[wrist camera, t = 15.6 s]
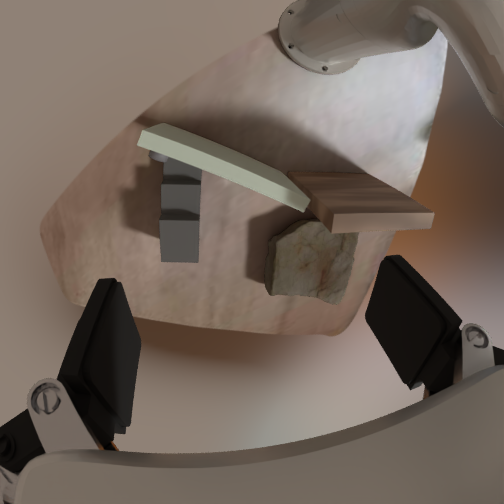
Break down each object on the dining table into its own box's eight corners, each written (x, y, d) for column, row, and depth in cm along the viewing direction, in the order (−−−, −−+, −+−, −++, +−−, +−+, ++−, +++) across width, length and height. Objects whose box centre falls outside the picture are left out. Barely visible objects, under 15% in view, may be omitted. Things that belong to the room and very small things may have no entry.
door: (163, 122, 32) (142, 130, 21) (281, 171, 37) (310, 200, 27) (155, 141, 33) (132, 157, 22) (272, 188, 38) (297, 222, 28)
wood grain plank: (287, 171, 38) (334, 214, 24) (368, 173, 40) (434, 212, 26) (287, 185, 39) (331, 233, 25) (366, 185, 41) (430, 228, 27)
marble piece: (333, 294, 52) (342, 308, 48) (259, 297, 49) (263, 313, 46) (356, 215, 44) (368, 225, 40) (271, 210, 41) (277, 221, 38)
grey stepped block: (166, 148, 34) (158, 155, 29) (203, 148, 35) (202, 156, 30) (166, 241, 41) (161, 261, 35) (199, 241, 41) (198, 262, 36)
